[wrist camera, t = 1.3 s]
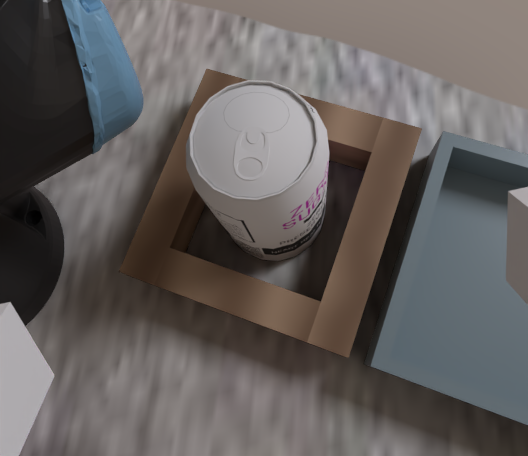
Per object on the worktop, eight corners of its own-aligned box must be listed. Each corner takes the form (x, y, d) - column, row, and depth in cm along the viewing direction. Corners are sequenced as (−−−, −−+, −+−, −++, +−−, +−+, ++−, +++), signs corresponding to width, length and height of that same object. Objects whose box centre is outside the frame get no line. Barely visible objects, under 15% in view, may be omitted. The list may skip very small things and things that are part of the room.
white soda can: (232, 166, 41) (188, 68, 27) (328, 171, 40) (335, 73, 26) (221, 257, 40) (167, 205, 25) (320, 266, 38) (324, 216, 24)
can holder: (137, 279, 40) (118, 271, 36) (216, 93, 43) (206, 68, 39) (344, 357, 37) (348, 357, 33) (411, 149, 40) (422, 128, 36)
